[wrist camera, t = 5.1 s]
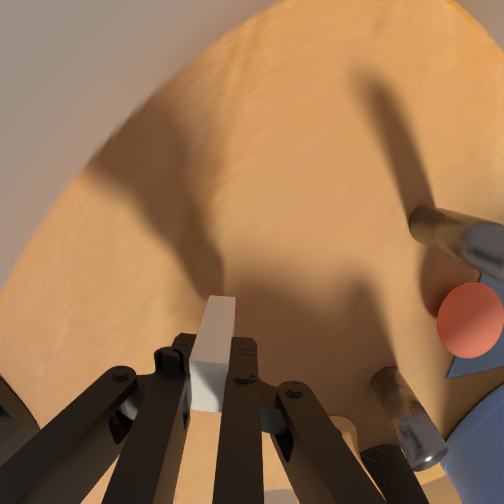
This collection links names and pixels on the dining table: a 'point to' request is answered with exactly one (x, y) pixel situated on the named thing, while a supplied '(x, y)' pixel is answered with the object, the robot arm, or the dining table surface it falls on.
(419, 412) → the post
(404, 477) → the travel mug
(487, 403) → the water jug
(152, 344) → the dining table surface
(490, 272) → the post
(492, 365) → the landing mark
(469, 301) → the ball
